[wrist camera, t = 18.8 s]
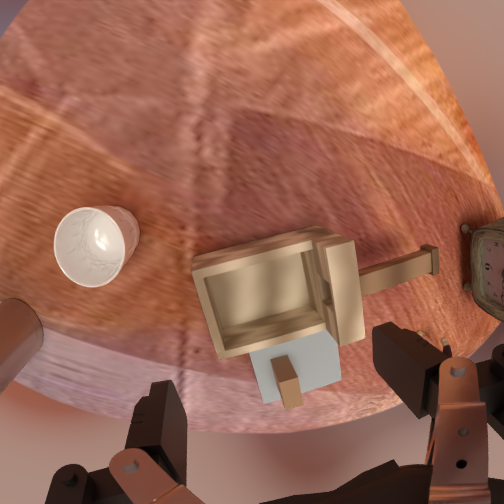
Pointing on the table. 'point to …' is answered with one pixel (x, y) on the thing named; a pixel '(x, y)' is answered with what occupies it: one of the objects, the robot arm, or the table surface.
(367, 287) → the bar
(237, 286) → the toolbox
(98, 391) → the table surface
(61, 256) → the white cup
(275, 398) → the lid
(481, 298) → the tabletop clock
